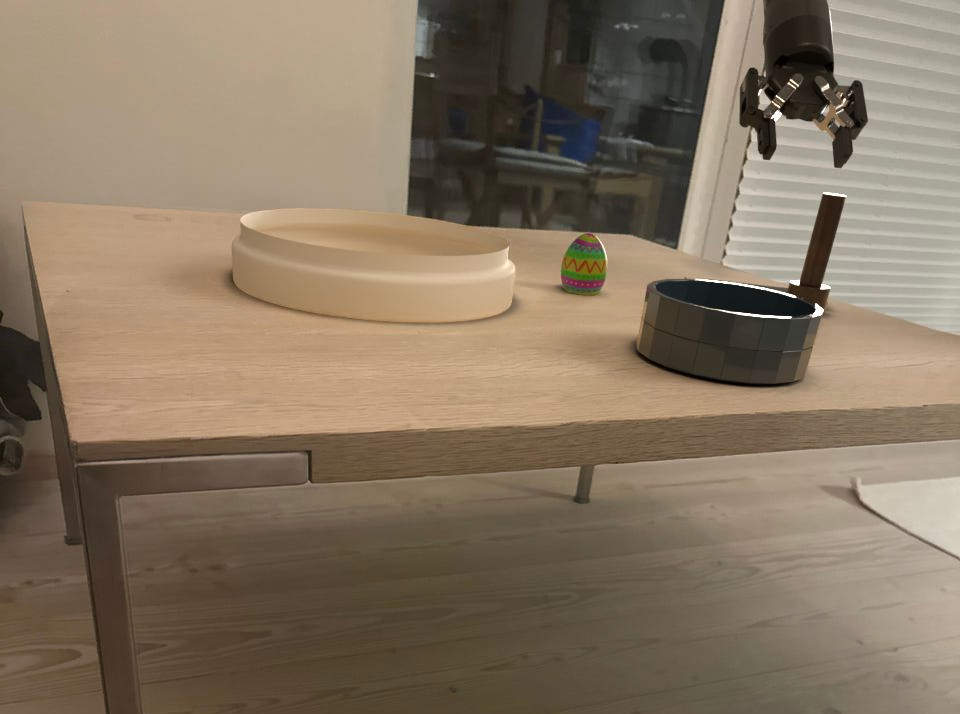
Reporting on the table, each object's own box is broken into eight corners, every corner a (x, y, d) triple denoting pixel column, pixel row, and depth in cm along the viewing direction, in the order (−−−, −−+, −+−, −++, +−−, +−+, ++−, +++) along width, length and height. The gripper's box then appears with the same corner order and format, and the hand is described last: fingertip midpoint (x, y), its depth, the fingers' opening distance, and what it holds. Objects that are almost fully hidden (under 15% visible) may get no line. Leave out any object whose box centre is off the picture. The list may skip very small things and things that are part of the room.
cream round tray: (554, 296, 96) (562, 240, 93) (424, 341, 75) (428, 270, 72) (340, 253, 106) (341, 201, 103) (170, 282, 85) (166, 217, 82)
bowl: (752, 345, 86) (767, 283, 83) (837, 391, 74) (858, 321, 72) (611, 339, 82) (622, 274, 80) (678, 387, 71) (693, 313, 68)
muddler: (809, 309, 105) (841, 193, 99) (830, 318, 101) (864, 198, 95) (775, 307, 104) (805, 190, 98) (795, 316, 100) (827, 195, 94)
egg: (612, 296, 100) (621, 236, 97) (585, 299, 97) (594, 238, 94) (576, 286, 103) (584, 228, 100) (549, 290, 99) (556, 230, 96)
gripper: (752, 4, 103) (759, 126, 99) (872, 20, 105) (883, 140, 101) (726, 61, 110) (732, 176, 107) (839, 74, 112) (849, 188, 108)
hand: (806, 159), depth 104 cm, fingers open, 8 cm apart
